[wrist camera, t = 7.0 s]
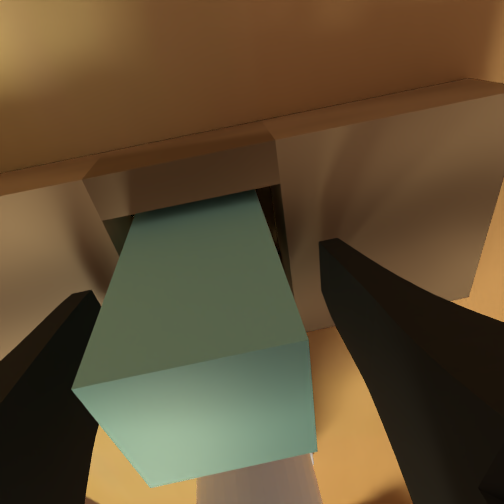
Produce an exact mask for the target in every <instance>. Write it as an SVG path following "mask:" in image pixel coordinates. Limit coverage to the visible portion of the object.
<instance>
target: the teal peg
mask: <svg viewBox="0 0 504 504" xmlns="http://www.w3.org/2000/svg"><path fill="white" fill-rule="evenodd" d="M71 390H72V391H73V392H74V394H75V395H76V396H77V397H78V398H79V400H80V401H81V402H82V403H83V405H84V406H85V407H86V408H87V410H88V411H89V412H90V413H91V415H92V416H93V417H94V418H95V420H96V421H97V422H98V423H99V425H100V426H101V427H102V428H103V430H104V431H105V432H106V433H107V435H108V436H109V437H110V438H111V440H112V441H113V442H114V443H115V445H116V446H117V447H118V448H119V450H120V451H121V452H122V453H123V455H124V456H125V457H126V458H127V459H128V461H129V462H130V463H131V464H132V466H133V467H134V468H135V469H136V471H137V472H138V473H139V474H140V476H141V477H142V478H143V479H144V481H145V482H146V483H147V484H148V486H149V487H150V488H153V487H157V486H162V485H166V484H171V483H176V482H180V481H185V480H189V479H194V478H198V477H203V476H208V475H212V474H217V473H221V472H226V471H230V470H235V469H240V468H244V467H249V466H253V465H258V464H262V463H267V462H272V461H276V460H281V459H285V458H290V457H294V456H299V455H304V454H308V453H313V452H317V439H316V427H315V414H314V401H313V389H312V376H311V363H310V351H309V339H308V336H307V334H306V331H305V328H304V325H303V322H302V320H301V317H300V314H299V311H298V308H297V306H296V303H295V300H294V297H293V294H292V292H291V289H290V286H289V283H288V280H287V278H286V275H285V272H284V269H283V267H282V264H281V261H280V258H279V255H278V253H277V250H276V247H275V244H274V241H273V239H272V236H271V233H270V230H269V227H268V225H267V222H266V219H265V216H264V213H263V211H262V208H261V205H260V202H259V199H258V197H257V194H256V191H255V189H253V190H248V191H243V192H238V193H233V194H228V195H224V196H219V197H214V198H209V199H204V200H200V201H195V202H190V203H185V204H180V205H175V206H171V207H166V208H161V209H156V210H151V211H146V212H142V213H137V214H135V216H134V219H133V221H132V224H131V227H130V230H129V232H128V235H127V238H126V241H125V243H124V246H123V249H122V252H121V254H120V257H119V260H118V262H117V265H116V268H115V271H114V273H113V276H112V279H111V282H110V284H109V287H108V290H107V293H106V295H105V298H104V301H103V304H102V306H101V309H100V312H99V315H98V317H97V320H96V323H95V325H94V328H93V331H92V334H91V336H90V339H89V342H88V345H87V347H86V350H85V353H84V356H83V358H82V361H81V364H80V367H79V369H78V372H77V375H76V378H75V380H74V383H73V386H72V388H71Z"/></svg>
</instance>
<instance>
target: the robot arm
mask: <svg viewBox="0 0 504 504" xmlns="http://www.w3.org/2000/svg"><path fill="white" fill-rule="evenodd" d="M319 261H320V279H321V292H322V294H323V297H324V300H325V303H326V305H327V308H328V310H329V313H330V316H331V318H332V320H333V322H334V324H335V326H336V328H337V330H338V331H339V333H340V335H341V337H342V339H343V341H344V343H345V345H346V347H347V349H348V350H349V352H350V354H351V356H352V358H353V360H354V362H355V364H356V365H357V367H358V369H359V371H360V373H361V375H362V377H363V379H364V381H365V383H366V385H367V387H368V389H369V392H370V394H371V396H372V399H373V401H374V404H375V406H376V408H377V411H378V413H379V416H380V418H381V421H382V423H383V426H384V428H385V431H386V433H387V436H388V438H389V441H390V443H391V446H392V449H393V451H394V454H395V456H396V459H397V461H398V464H399V467H400V469H401V472H402V475H403V477H404V480H405V483H406V485H407V488H408V491H409V493H410V496H411V499H412V501H413V504H504V322H501V321H499V320H496V319H493V318H490V317H488V316H485V315H482V314H480V313H477V312H474V311H472V310H469V309H467V308H464V307H462V306H459V305H457V304H455V303H453V302H450V301H448V300H446V299H444V298H441V297H439V296H437V295H435V294H433V293H431V292H428V291H426V290H424V289H422V288H420V287H418V286H417V285H415V284H413V283H411V282H409V281H407V280H405V279H403V278H402V277H400V276H398V275H396V274H394V273H393V272H391V271H389V270H388V269H386V268H384V267H383V266H381V265H379V264H378V263H376V262H374V261H373V260H371V259H370V258H368V257H366V256H365V255H363V254H362V253H360V252H359V251H357V250H356V249H354V248H353V247H351V246H350V245H348V244H347V243H345V242H344V241H342V240H340V239H339V238H333V239H329V240H324V241H319ZM100 309H101V305H100V303H99V301H98V300H97V298H96V296H95V295H94V293H93V291H92V290H87V291H82V292H78V293H73V294H71V295H70V296H69V297H67V298H66V299H65V300H64V301H63V302H62V303H61V304H60V305H59V306H57V307H56V308H55V309H54V310H53V311H52V312H51V313H50V314H49V315H48V316H47V317H46V318H45V319H44V320H43V321H42V322H41V323H40V324H39V325H38V326H37V327H36V328H35V329H34V330H33V331H32V332H31V333H30V334H28V335H27V336H26V337H25V338H24V339H23V340H22V341H21V342H20V343H19V344H18V345H17V346H16V347H15V348H14V349H13V350H12V351H11V352H10V353H8V354H7V355H6V356H5V357H4V358H3V359H2V360H1V361H0V504H85V496H86V488H87V482H88V476H89V469H90V463H91V457H92V451H93V446H94V442H95V437H96V433H97V429H98V426H99V423H98V422H97V421H96V420H95V418H94V417H93V416H92V415H91V413H90V412H89V411H88V410H87V408H86V407H85V406H84V405H83V403H82V402H81V401H80V400H79V398H78V397H77V396H76V395H75V394H74V392H73V391H72V390H71V388H72V386H73V383H74V380H75V378H76V375H77V372H78V369H79V367H80V364H81V361H82V358H83V356H84V353H85V350H86V347H87V345H88V342H89V339H90V336H91V334H92V331H93V328H94V325H95V323H96V320H97V317H98V315H99V312H100ZM313 465H314V461H313V453H308V454H304V455H299V456H294V457H290V458H285V459H281V460H276V461H272V462H267V463H262V464H258V465H253V466H249V467H244V468H240V469H235V470H230V471H226V472H221V473H217V474H212V475H208V476H203V477H198V478H197V504H323V502H322V498H321V495H320V491H319V487H318V483H317V479H316V476H315V472H314V468H313Z"/></svg>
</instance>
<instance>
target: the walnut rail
mask: <svg viewBox="0 0 504 504" xmlns="http://www.w3.org/2000/svg"><path fill="white" fill-rule="evenodd" d="M503 178H504V84H503V83H496V82H490V81H484V80H477V79H471V78H468V79H463V80H458V81H453V82H448V83H443V84H438V85H433V86H428V87H423V88H418V89H414V90H409V91H404V92H399V93H394V94H389V95H384V96H379V97H374V98H369V99H364V100H359V101H355V102H350V103H345V104H340V105H335V106H330V107H325V108H320V109H315V110H310V111H305V112H300V113H295V114H291V115H286V116H281V117H276V118H271V119H266V120H261V121H256V122H251V123H246V124H241V125H236V126H232V127H227V128H222V129H217V130H212V131H207V132H202V133H197V134H192V135H187V136H182V137H177V138H173V139H168V140H163V141H158V142H153V143H148V144H143V145H138V146H133V147H128V148H123V149H118V150H113V151H109V152H104V153H99V154H94V155H89V156H84V157H79V158H74V159H69V160H64V161H59V162H54V163H50V164H45V165H40V166H35V167H30V168H25V169H20V170H15V171H10V172H5V173H0V361H1V360H2V359H3V358H4V357H5V356H6V355H7V354H8V353H10V352H11V351H12V350H13V349H14V348H15V347H16V346H17V345H18V344H19V343H20V342H21V341H22V340H23V339H24V338H25V337H26V336H27V335H28V334H30V333H31V332H32V331H33V330H34V329H35V328H36V327H37V326H38V325H39V324H40V323H41V322H42V321H43V320H44V319H45V318H46V317H47V316H48V315H49V314H50V313H51V312H52V311H53V310H54V309H55V308H56V307H57V306H59V305H60V304H61V303H62V302H63V301H64V300H65V299H66V298H67V297H69V296H70V295H71V294H73V293H78V292H82V291H87V290H92V291H93V293H94V295H95V296H96V298H97V300H98V301H99V303H100V305H101V306H102V304H103V301H104V298H105V295H106V293H107V290H108V287H109V284H110V282H111V279H112V276H113V273H114V271H115V268H116V265H117V262H118V260H119V257H120V254H121V252H122V249H123V246H124V243H125V241H126V238H127V235H128V232H129V230H130V227H131V224H132V221H133V220H132V217H131V215H132V214H137V213H142V212H146V211H151V210H156V209H161V208H166V207H171V206H175V205H180V204H185V203H190V202H195V201H200V200H204V199H209V198H214V197H219V196H224V195H228V194H233V193H238V192H243V191H248V190H253V189H257V188H262V187H267V186H270V188H271V195H272V202H273V209H274V216H275V224H276V231H277V238H278V245H279V252H280V260H281V264H282V267H283V269H284V272H285V275H286V278H287V280H288V283H289V286H290V289H291V292H292V294H293V297H294V300H295V303H296V306H297V308H298V311H299V314H300V317H301V320H302V322H303V325H304V328H305V331H306V332H310V331H314V330H319V329H324V328H328V327H333V326H335V324H334V322H333V320H332V318H331V316H330V313H329V310H328V308H327V305H326V303H325V300H324V297H323V294H322V292H321V279H320V261H319V241H324V240H329V239H333V238H339V239H340V240H342V241H344V242H345V243H347V244H348V245H350V246H351V247H353V248H354V249H356V250H357V251H359V252H360V253H362V254H363V255H365V256H366V257H368V258H370V259H371V260H373V261H374V262H376V263H378V264H379V265H381V266H383V267H384V268H386V269H388V270H389V271H391V272H393V273H394V274H396V275H398V276H400V277H402V278H403V279H405V280H407V281H409V282H411V283H413V284H415V285H417V286H418V287H420V288H422V289H424V290H426V291H428V292H431V293H433V294H435V295H437V296H439V297H441V298H444V299H446V300H448V301H453V300H458V299H462V298H467V297H469V294H470V291H471V287H472V284H473V281H474V277H475V274H476V270H477V267H478V263H479V260H480V257H481V253H482V250H483V246H484V243H485V240H486V236H487V233H488V229H489V226H490V223H491V219H492V216H493V212H494V209H495V205H496V202H497V199H498V195H499V192H500V188H501V185H502V182H503Z"/></svg>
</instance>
